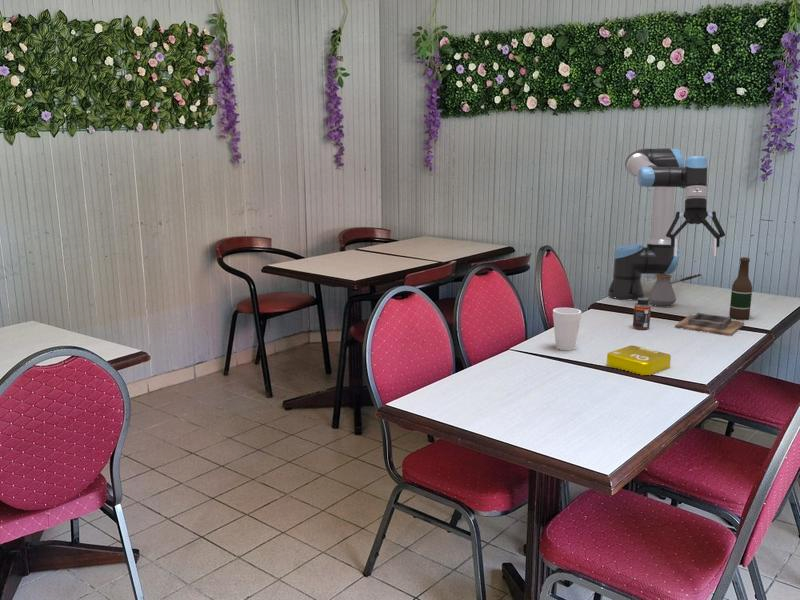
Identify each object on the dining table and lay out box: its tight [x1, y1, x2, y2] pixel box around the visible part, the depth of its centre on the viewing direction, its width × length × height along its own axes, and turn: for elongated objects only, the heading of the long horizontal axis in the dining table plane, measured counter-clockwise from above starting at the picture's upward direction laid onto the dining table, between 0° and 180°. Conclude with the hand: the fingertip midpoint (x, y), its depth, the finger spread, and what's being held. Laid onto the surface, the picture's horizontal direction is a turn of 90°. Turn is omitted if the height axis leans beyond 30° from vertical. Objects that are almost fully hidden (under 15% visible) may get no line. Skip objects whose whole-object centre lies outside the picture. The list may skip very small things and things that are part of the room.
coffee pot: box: [647, 273, 704, 307], centre depth 314 cm, size 21×12×15 cm, turn 54°
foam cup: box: [552, 307, 582, 351], centre depth 254 cm, size 10×9×13 cm
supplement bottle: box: [632, 297, 652, 331], centre depth 280 cm, size 6×6×11 cm
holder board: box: [674, 312, 745, 337], centre depth 283 cm, size 20×20×3 cm
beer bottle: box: [728, 257, 753, 321], centre depth 293 cm, size 8×8×24 cm
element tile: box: [606, 345, 672, 376], centre depth 236 cm, size 15×15×5 cm
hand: (694, 256), depth 276 cm, fingers open, 13 cm apart
